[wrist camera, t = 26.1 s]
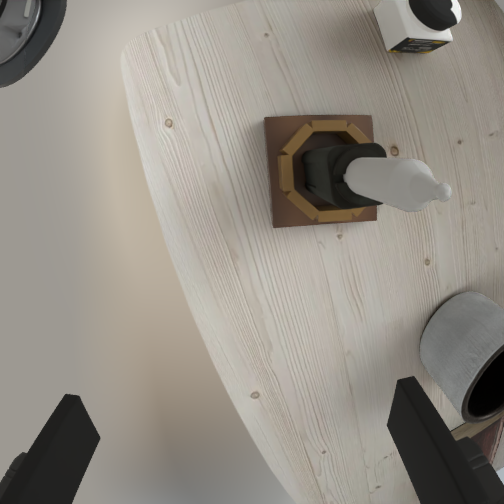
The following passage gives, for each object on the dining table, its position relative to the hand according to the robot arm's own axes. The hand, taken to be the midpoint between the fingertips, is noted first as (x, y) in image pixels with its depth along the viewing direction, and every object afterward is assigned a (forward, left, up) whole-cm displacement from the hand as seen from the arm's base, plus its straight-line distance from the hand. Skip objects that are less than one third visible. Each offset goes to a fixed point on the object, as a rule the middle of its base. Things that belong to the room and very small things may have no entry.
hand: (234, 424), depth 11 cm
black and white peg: (+10, +8, -28) cm, 31 cm away
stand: (+10, +8, -31) cm, 33 cm away
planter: (+34, -19, -31) cm, 50 cm away
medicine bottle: (+24, +28, -31) cm, 48 cm away
